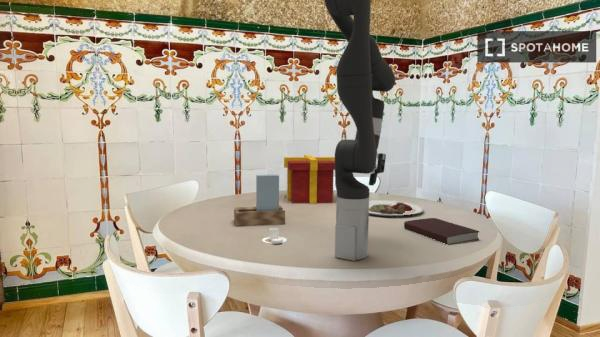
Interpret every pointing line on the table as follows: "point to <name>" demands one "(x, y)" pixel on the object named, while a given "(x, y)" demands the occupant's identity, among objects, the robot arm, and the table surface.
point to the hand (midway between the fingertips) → (359, 182)
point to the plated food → (392, 208)
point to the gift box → (310, 179)
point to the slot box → (258, 216)
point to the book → (442, 230)
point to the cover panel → (267, 192)
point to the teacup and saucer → (274, 237)
